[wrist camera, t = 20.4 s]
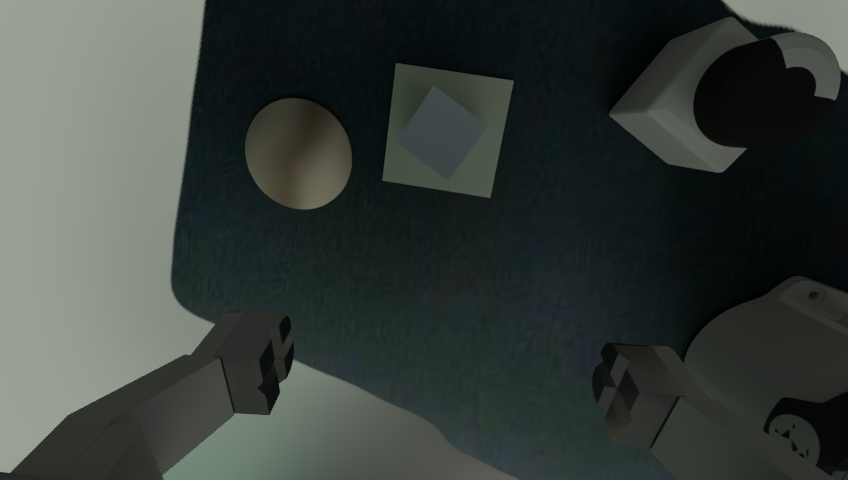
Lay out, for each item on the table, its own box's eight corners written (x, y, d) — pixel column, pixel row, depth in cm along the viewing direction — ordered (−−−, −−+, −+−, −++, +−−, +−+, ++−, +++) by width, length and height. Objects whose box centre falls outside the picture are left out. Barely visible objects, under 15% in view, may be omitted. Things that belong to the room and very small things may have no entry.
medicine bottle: (667, 165, 33) (780, 186, 22) (605, 114, 32) (688, 107, 21) (734, 94, 31) (897, 75, 20) (670, 38, 30) (801, -16, 19)
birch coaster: (357, 107, 34) (356, 107, 34) (347, 216, 37) (346, 217, 36) (246, 90, 34) (245, 90, 34) (245, 200, 37) (244, 200, 37)
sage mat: (513, 81, 32) (513, 80, 32) (490, 197, 35) (490, 197, 35) (396, 63, 32) (395, 63, 32) (382, 180, 35) (382, 180, 35)
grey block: (481, 126, 33) (488, 126, 26) (449, 169, 34) (448, 180, 28) (438, 93, 33) (433, 85, 26) (407, 139, 34) (395, 142, 27)
